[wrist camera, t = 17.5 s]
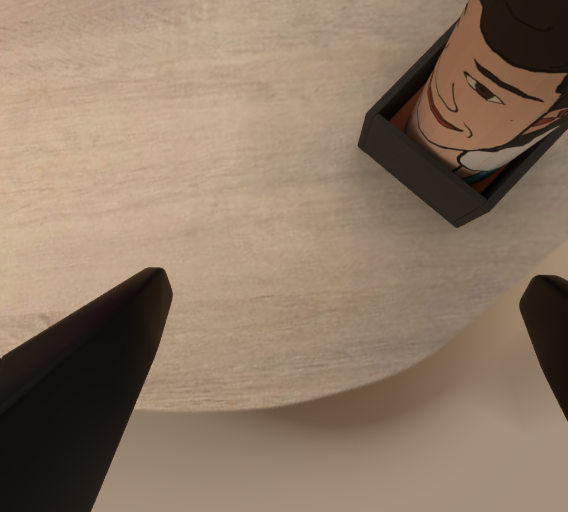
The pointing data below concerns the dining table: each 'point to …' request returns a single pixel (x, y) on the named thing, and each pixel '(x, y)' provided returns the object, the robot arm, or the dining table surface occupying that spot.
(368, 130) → the open tray
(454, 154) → the cartoon face cylinder
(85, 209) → the dining table surface
